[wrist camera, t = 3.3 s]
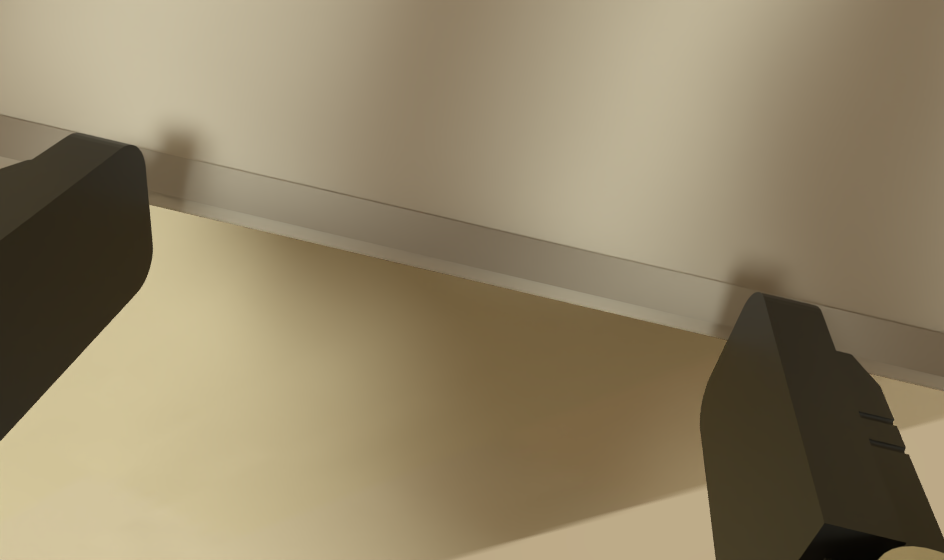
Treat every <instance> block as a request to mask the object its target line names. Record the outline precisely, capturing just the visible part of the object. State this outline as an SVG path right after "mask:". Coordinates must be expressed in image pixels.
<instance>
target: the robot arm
mask: <svg viewBox="0 0 944 560" xmlns="http://www.w3.org/2000/svg"><path fill="white" fill-rule="evenodd" d="M152 254H153V243H152V232H151V220H150V209H149V197H148V186H147V175H146V165H145V160H144V156H143V154H142V152H141V150H140V149H139V148H138V147H137V146H134V145H131V144H127V143H123V142H118V141H114V140H110V139H105V138H101V137H97V136H93V135H88V134H84V133H77V132H76V133H72V134H70V135H68V136H66V137H65V138H63V139H62V140H60V141H59V142H57V143H56V144H54V145H53V146H51V147H50V148H48V149H47V150H45V151H44V152H42V153H41V154H39V155H38V156H36V157H35V158H33V159H32V160H26V161H22V162H19V163H16V164H13V165H10V166H7V167H4V168H1V169H0V441H1V440H2V439H3V438H4V437H5V435H6V434H7V433H8V432H9V431H10V430H11V429H12V428H13V427H14V426H15V425H16V423H17V422H18V421H19V420H20V419H21V418H22V417H23V416H24V415H25V414H26V413H27V412H28V410H29V409H30V408H31V407H32V406H33V405H34V404H35V403H36V402H37V401H38V400H39V399H40V397H41V396H42V395H43V394H44V393H45V392H46V391H47V390H48V389H49V388H50V387H51V386H52V384H53V383H54V382H55V381H56V380H57V379H58V378H59V377H60V376H61V375H62V374H63V373H64V371H65V370H66V369H67V368H68V367H69V366H70V365H71V364H72V363H73V362H74V361H75V359H76V358H77V357H78V356H79V355H80V354H81V353H82V352H83V351H84V350H85V349H86V348H87V346H88V345H89V344H90V343H91V342H92V341H93V340H94V339H95V338H96V337H97V336H98V335H99V333H100V332H101V331H102V330H103V329H104V328H105V327H106V326H107V325H108V324H109V323H110V322H111V320H112V319H113V318H114V317H115V316H116V315H117V314H118V313H119V312H120V311H121V310H122V309H123V307H124V306H125V305H126V304H127V303H128V302H129V301H130V300H131V299H132V298H133V297H134V296H135V294H136V293H137V292H138V291H139V290H140V288H141V287H142V285H143V283H144V282H145V280H146V277H147V275H148V272H149V269H150V265H151V261H152ZM893 421H894V418H893V416H892V413H891V411H890V409H889V406H888V404H887V402H886V399H885V397H884V394H883V392H882V390H881V387H880V386H879V385H878V383H877V382H876V381H875V380H874V379H873V378H872V377H871V376H870V374H869V373H868V372H867V371H866V370H865V369H864V368H863V367H862V365H861V364H860V363H859V362H858V361H857V360H856V359H855V358H854V356H853V355H852V354H849V353H844V352H840V351H836V349H835V346H834V343H833V341H832V338H831V335H830V333H829V330H828V327H827V325H826V322H825V319H824V316H823V314H822V311H821V309H820V308H819V307H818V306H816V305H813V304H809V303H804V302H800V301H796V300H791V299H787V298H783V297H778V296H774V295H770V294H766V293H761V292H755V293H753V294H752V295H751V296H750V297H749V299H748V300H747V302H746V303H745V305H744V307H743V309H742V311H741V313H740V315H739V317H738V319H737V322H736V324H735V326H734V328H733V330H732V332H731V334H730V336H729V338H728V341H727V343H726V345H725V347H724V349H723V351H722V353H721V355H720V357H719V360H718V362H717V364H716V366H715V368H714V370H713V372H712V374H711V376H710V379H709V381H708V383H707V386H706V389H705V392H704V396H703V400H702V406H701V413H700V431H701V439H702V448H703V456H704V464H705V473H706V481H707V490H708V498H709V506H710V514H711V522H712V531H713V540H714V548H715V556H716V560H944V538H943V536H942V533H941V531H940V528H939V526H938V523H937V521H936V519H935V517H934V514H933V511H932V509H931V507H930V504H929V502H928V499H927V497H926V495H925V492H924V490H923V488H922V485H921V483H920V480H919V478H918V476H917V473H916V471H915V468H914V466H913V464H912V461H911V459H910V457H909V455H908V454H905V453H904V451H905V445H904V442H903V440H902V438H901V435H900V433H899V430H898V428H897V426H894V425H893Z"/></svg>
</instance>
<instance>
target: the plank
mask: <svg viewBox="0 0 944 560" xmlns="http://www.w3.org/2000/svg"><path fill="white" fill-rule="evenodd" d="M76 132H77V133H84V134H88V135H93V136H97V137H101V138H105V139H110V140H114V141H118V142H123V143H127V144H131V145H134V146H137V147H138V148H139V149H140V150H141V152H142V154H143V156H144V160H145V165H146V175H147V186H148V197H149V205H153V206H158V207H162V208H166V209H170V210H175V211H179V212H183V213H187V214H192V215H196V216H200V217H204V218H209V219H213V220H217V221H222V222H226V223H230V224H234V225H239V226H243V227H247V228H251V229H256V230H260V231H264V232H268V233H273V234H277V235H281V236H285V237H290V238H294V239H298V240H302V241H307V242H311V243H315V244H319V245H324V246H328V247H332V248H337V249H341V250H345V251H349V252H354V253H358V254H362V255H366V256H371V257H375V258H379V259H383V260H388V261H392V262H396V263H400V264H405V265H409V266H413V267H417V268H422V269H426V270H430V271H434V272H439V273H443V274H447V275H452V276H456V277H460V278H464V279H469V280H473V281H477V282H481V283H486V284H490V285H494V286H498V287H503V288H507V289H511V290H515V291H520V292H524V293H528V294H532V295H537V296H541V297H545V298H549V299H554V300H558V301H562V302H567V303H571V304H575V305H579V306H584V307H588V308H592V309H596V310H601V311H605V312H609V313H613V314H618V315H622V316H626V317H630V318H635V319H639V320H643V321H647V322H652V323H656V324H660V325H664V326H669V327H673V328H677V329H682V330H686V331H690V332H694V333H699V334H703V335H707V336H711V337H716V338H720V339H724V340H728V338H729V336H730V334H731V332H732V330H733V328H734V326H735V324H736V322H737V319H738V317H739V315H740V313H741V311H742V309H743V307H744V305H745V303H746V302H747V300H748V299H749V297H750V296H751V295H752V294H753V293H755V292H761V293H766V294H770V295H774V296H778V297H783V298H787V299H791V300H796V301H800V302H804V303H809V304H813V305H816V306H818V307H819V308H820V309H821V311H822V314H823V316H824V319H825V322H826V325H827V327H828V330H829V333H830V335H831V338H832V341H833V343H834V346H835V349H836V351H840V352H844V353H849V354H852V355H853V356H854V358H855V359H856V360H857V361H858V362H859V363H860V364H861V365H862V367H863V368H864V369H865V370H866V371H867V372H868V373H869V374H873V375H877V376H882V377H886V378H890V379H894V380H899V381H903V382H907V383H912V384H916V385H920V386H924V387H929V388H933V389H937V390H941V391H944V0H0V169H1V168H4V167H7V166H10V165H13V164H16V163H19V162H22V161H26V160H32V159H33V158H35V157H36V156H38V155H39V154H41V153H42V152H44V151H45V150H47V149H48V148H50V147H51V146H53V145H54V144H56V143H57V142H59V141H60V140H62V139H63V138H65V137H66V136H68V135H70V134H72V133H76Z"/></svg>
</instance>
